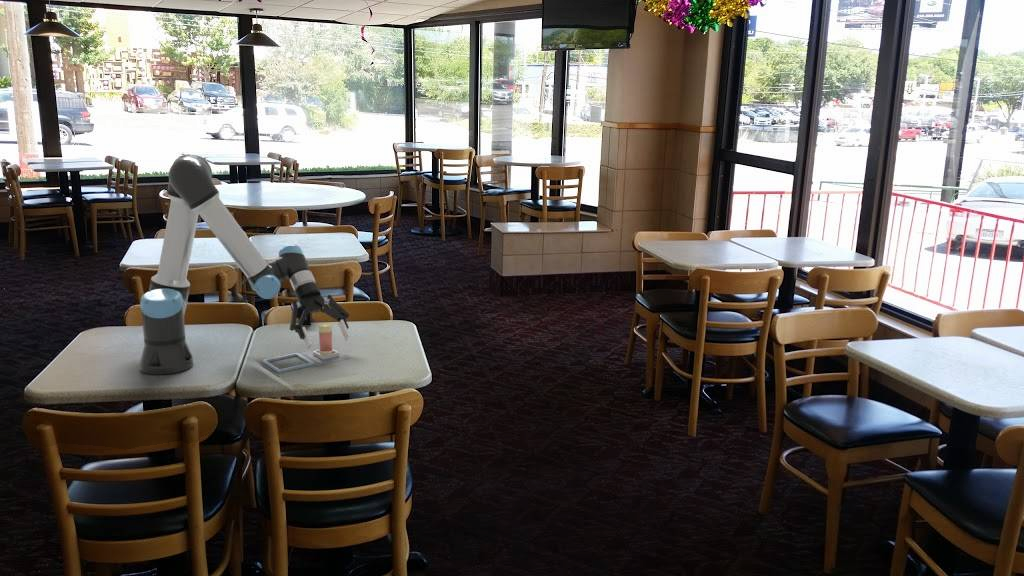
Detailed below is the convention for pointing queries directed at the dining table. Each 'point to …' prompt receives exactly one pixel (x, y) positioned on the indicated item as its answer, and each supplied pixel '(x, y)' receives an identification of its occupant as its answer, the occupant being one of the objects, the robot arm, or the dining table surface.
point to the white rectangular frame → (326, 356)
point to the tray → (309, 363)
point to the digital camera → (307, 319)
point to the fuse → (325, 339)
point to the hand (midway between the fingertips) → (329, 342)
